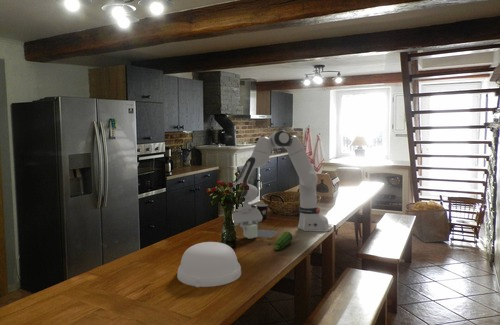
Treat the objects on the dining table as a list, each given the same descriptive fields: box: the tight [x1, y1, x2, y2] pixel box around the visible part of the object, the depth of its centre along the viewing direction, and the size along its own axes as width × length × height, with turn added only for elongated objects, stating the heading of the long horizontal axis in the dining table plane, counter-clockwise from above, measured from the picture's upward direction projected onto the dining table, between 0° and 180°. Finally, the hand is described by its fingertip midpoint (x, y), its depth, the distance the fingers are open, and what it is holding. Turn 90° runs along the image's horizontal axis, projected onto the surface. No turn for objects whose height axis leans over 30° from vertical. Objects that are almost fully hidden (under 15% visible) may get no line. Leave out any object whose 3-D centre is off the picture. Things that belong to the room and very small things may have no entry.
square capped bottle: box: [242, 221, 259, 239], centre depth 239 cm, size 6×6×10 cm
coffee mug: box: [255, 203, 269, 221], centre depth 291 cm, size 12×9×10 cm
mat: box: [257, 228, 280, 239], centre depth 249 cm, size 14×16×1 cm
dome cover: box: [176, 241, 242, 288], centre depth 184 cm, size 32×30×14 cm
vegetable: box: [273, 231, 294, 251], centre depth 223 cm, size 7×7×20 cm
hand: (250, 228), depth 239 cm, fingers closed on square capped bottle, 6 cm apart
